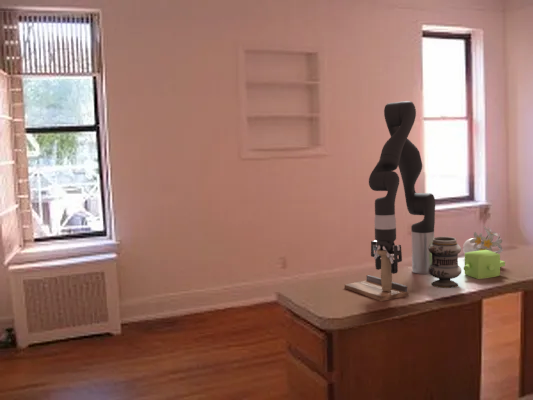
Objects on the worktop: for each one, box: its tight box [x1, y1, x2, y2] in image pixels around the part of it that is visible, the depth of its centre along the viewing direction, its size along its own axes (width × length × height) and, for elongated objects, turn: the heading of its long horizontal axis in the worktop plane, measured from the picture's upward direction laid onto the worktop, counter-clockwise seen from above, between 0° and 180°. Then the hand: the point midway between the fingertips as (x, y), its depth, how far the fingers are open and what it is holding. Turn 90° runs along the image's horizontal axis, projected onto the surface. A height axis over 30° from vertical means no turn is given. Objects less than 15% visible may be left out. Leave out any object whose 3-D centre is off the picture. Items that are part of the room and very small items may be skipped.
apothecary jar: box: [428, 236, 462, 289], centre depth 213 cm, size 12×12×18 cm
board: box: [344, 274, 409, 302], centre depth 208 cm, size 12×22×4 cm, turn 28°
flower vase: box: [462, 225, 504, 254], centre depth 249 cm, size 13×18×25 cm
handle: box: [377, 250, 393, 291], centre depth 202 cm, size 5×6×15 cm
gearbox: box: [463, 250, 506, 280], centre depth 224 cm, size 18×10×10 cm, turn 107°
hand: (386, 271), depth 202 cm, fingers open, 8 cm apart
